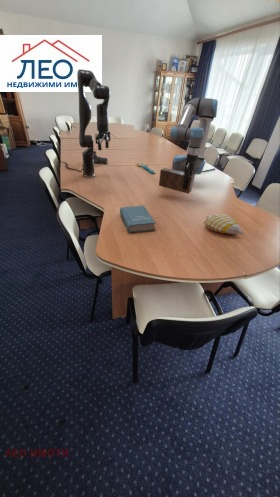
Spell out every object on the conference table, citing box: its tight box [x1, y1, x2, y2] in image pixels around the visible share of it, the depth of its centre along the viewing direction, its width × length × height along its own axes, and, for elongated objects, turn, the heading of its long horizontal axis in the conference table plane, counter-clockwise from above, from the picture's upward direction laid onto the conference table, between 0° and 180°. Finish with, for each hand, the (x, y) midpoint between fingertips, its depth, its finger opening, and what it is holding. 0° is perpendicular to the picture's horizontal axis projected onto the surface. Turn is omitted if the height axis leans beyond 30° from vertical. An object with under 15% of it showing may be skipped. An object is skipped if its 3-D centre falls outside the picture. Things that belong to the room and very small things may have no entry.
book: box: [119, 205, 156, 233], centre depth 136 cm, size 23×16×5 cm
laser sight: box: [93, 150, 108, 165], centre depth 230 cm, size 10×22×10 cm, turn 78°
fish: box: [203, 213, 245, 235], centre depth 133 cm, size 25×8×20 cm
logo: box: [137, 162, 156, 175], centre depth 227 cm, size 34×10×1 cm, turn 16°
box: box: [158, 167, 196, 195], centre depth 162 cm, size 24×6×12 cm, turn 59°
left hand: (103, 149), depth 155 cm, fingers open, 8 cm apart
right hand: (186, 187), depth 160 cm, fingers closed on box, 6 cm apart
